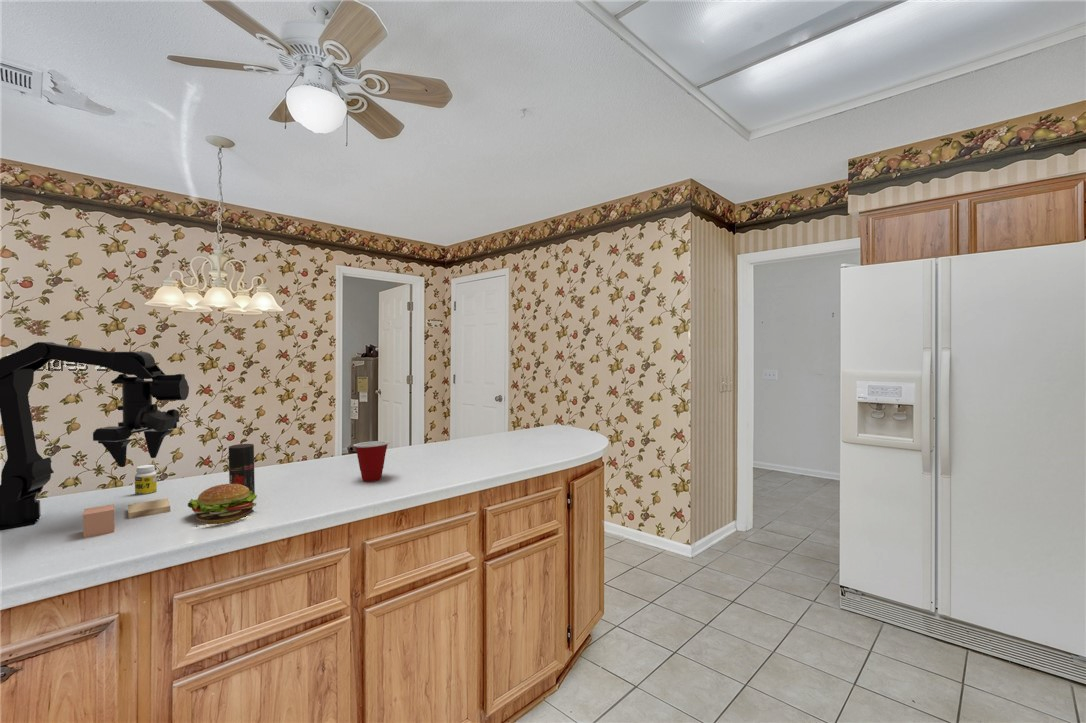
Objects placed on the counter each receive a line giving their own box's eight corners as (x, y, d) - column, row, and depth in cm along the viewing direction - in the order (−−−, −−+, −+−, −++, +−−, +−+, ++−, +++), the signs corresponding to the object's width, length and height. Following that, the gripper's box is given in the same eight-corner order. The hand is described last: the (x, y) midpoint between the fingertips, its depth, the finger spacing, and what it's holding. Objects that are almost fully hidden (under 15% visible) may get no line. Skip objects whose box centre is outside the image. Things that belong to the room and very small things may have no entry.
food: (243, 503, 130) (243, 474, 130) (264, 515, 121) (264, 484, 121) (182, 517, 119) (181, 486, 119) (200, 531, 110) (199, 497, 110)
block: (83, 541, 104) (82, 514, 104) (85, 535, 108) (84, 508, 108) (114, 535, 108) (113, 509, 108) (114, 529, 112) (113, 504, 111)
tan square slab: (128, 519, 116) (128, 513, 116) (128, 510, 122) (128, 504, 122) (170, 511, 121) (170, 505, 121) (168, 503, 127) (167, 498, 127)
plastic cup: (383, 472, 161) (383, 437, 160) (393, 480, 152) (393, 443, 152) (349, 477, 155) (349, 441, 154) (358, 486, 146) (357, 447, 145)
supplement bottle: (131, 498, 133) (130, 468, 133) (140, 493, 138) (139, 464, 138) (151, 497, 135) (151, 467, 134) (160, 492, 139) (159, 463, 139)
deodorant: (259, 496, 135) (258, 444, 135) (241, 503, 130) (240, 448, 129) (243, 495, 137) (242, 443, 136) (224, 501, 131) (223, 447, 131)
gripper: (137, 406, 111) (138, 472, 112) (196, 397, 130) (196, 454, 130) (89, 405, 111) (91, 471, 112) (155, 397, 130) (156, 453, 131)
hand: (138, 462), depth 121 cm, fingers open, 9 cm apart
